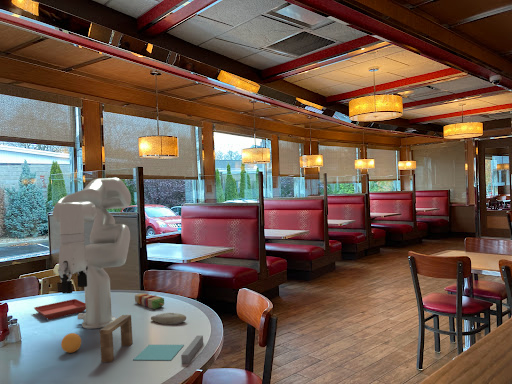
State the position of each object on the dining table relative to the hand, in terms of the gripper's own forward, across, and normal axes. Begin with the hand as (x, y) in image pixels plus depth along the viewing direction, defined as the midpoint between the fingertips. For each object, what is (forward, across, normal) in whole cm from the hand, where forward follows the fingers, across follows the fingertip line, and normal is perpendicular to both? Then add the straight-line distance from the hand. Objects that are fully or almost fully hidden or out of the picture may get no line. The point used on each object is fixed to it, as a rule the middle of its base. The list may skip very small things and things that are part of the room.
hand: (75, 289), depth 140 cm
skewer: (+19, -48, +8) cm, 52 cm away
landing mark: (+19, +6, +30) cm, 36 cm away
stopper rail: (+20, +6, +41) cm, 46 cm away
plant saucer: (+19, -42, -30) cm, 55 cm away
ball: (+16, +4, 0) cm, 17 cm away
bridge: (+19, +5, +16) cm, 26 cm away
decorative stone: (+19, -24, +24) cm, 39 cm away
